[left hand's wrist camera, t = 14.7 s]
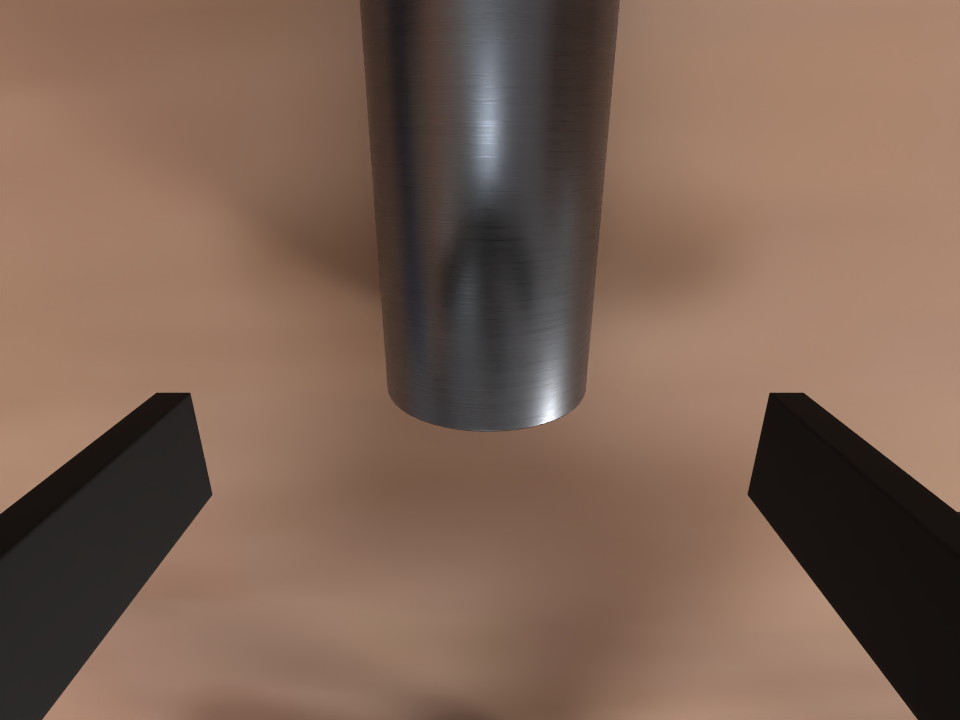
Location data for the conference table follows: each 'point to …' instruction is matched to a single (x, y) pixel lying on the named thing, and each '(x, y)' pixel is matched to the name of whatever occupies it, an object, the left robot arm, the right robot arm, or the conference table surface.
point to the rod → (488, 200)
